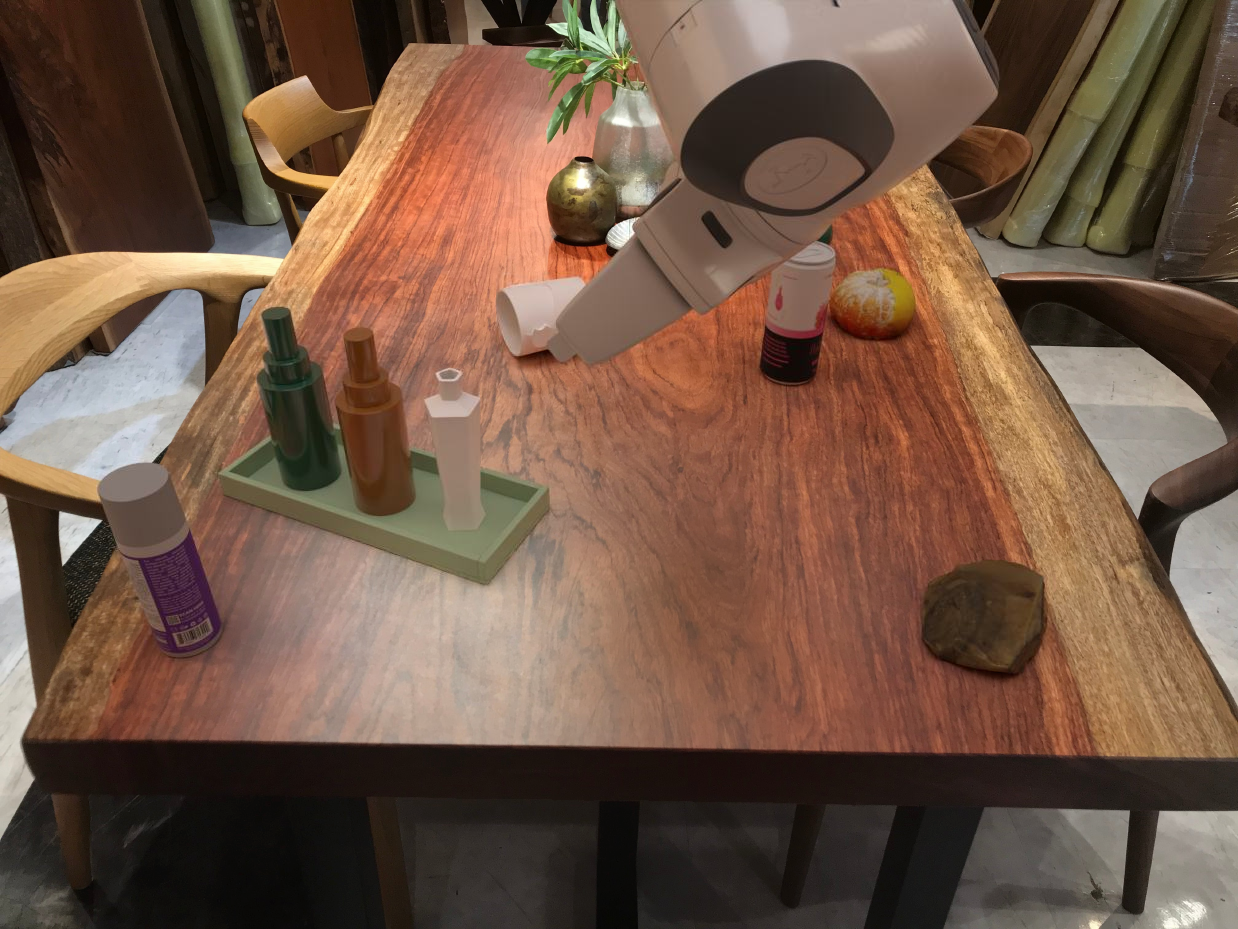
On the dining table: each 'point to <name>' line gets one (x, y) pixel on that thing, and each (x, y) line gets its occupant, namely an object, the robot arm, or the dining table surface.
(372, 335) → the bottle
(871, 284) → the fruit
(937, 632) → the decorative stone
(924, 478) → the dining table surface
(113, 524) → the container
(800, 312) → the beverage can
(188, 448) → the dining table surface
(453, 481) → the perfume bottle
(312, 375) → the bottle
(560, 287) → the white hollow cylinder
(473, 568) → the tray
